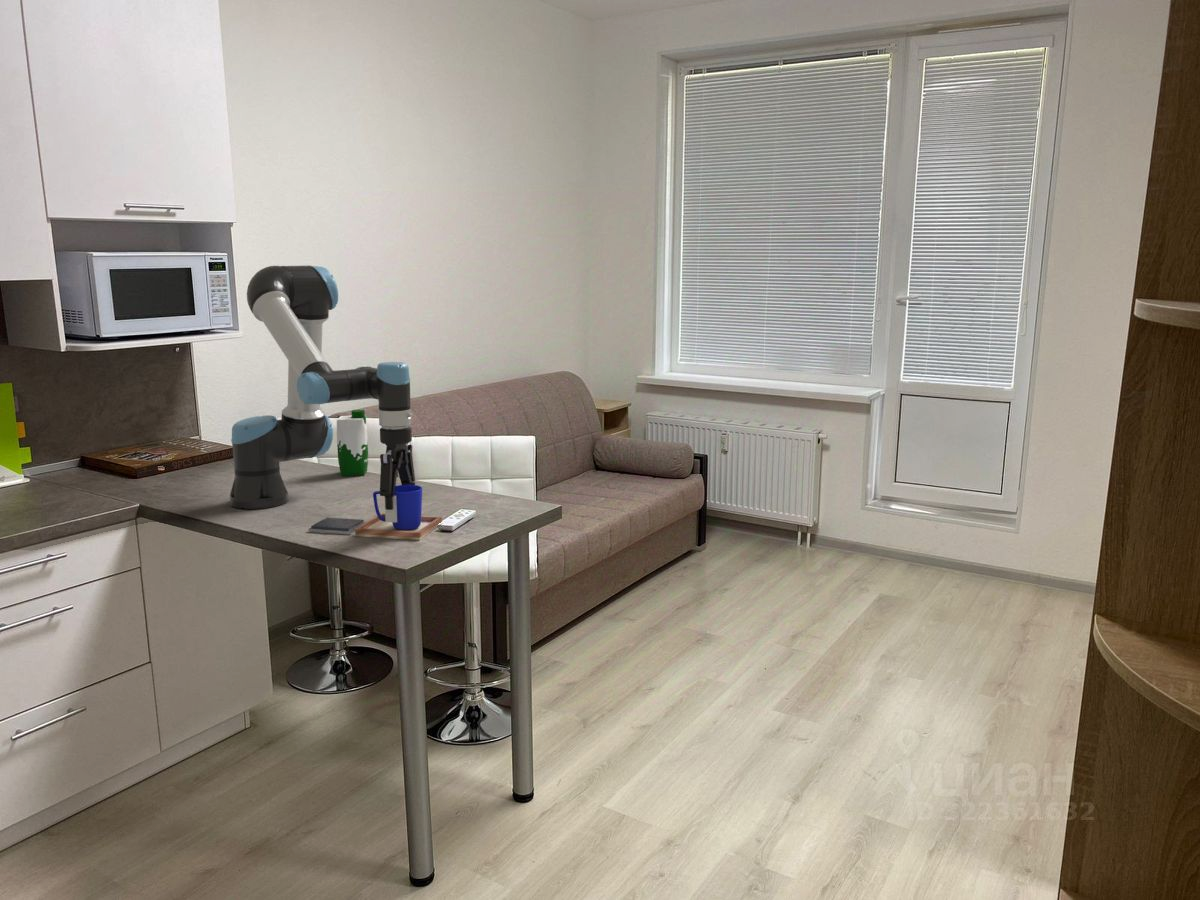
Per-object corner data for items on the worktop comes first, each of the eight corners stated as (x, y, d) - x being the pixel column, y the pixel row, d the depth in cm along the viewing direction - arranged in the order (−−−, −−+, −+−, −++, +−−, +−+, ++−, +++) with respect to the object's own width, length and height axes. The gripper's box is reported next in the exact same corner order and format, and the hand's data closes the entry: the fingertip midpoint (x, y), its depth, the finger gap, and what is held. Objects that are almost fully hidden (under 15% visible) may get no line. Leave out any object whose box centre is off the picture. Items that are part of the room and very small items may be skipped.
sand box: (355, 536, 220) (354, 528, 220) (380, 520, 234) (380, 513, 234) (420, 540, 217) (419, 532, 217) (442, 523, 231) (441, 516, 231)
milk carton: (366, 476, 283) (363, 412, 279) (336, 476, 282) (333, 413, 278) (370, 470, 292) (367, 408, 288) (341, 470, 291) (338, 408, 287)
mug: (379, 522, 230) (377, 484, 228) (427, 523, 229) (425, 484, 227) (370, 532, 222) (368, 492, 220) (419, 532, 221) (418, 492, 219)
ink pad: (308, 532, 223) (308, 526, 223) (326, 522, 232) (325, 516, 232) (350, 534, 221) (349, 529, 221) (366, 524, 230) (366, 519, 230)
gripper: (391, 434, 210) (395, 529, 214) (426, 420, 230) (429, 506, 235) (361, 433, 211) (366, 527, 216) (398, 418, 232) (402, 505, 236)
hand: (399, 516), depth 225 cm, fingers open, 8 cm apart
